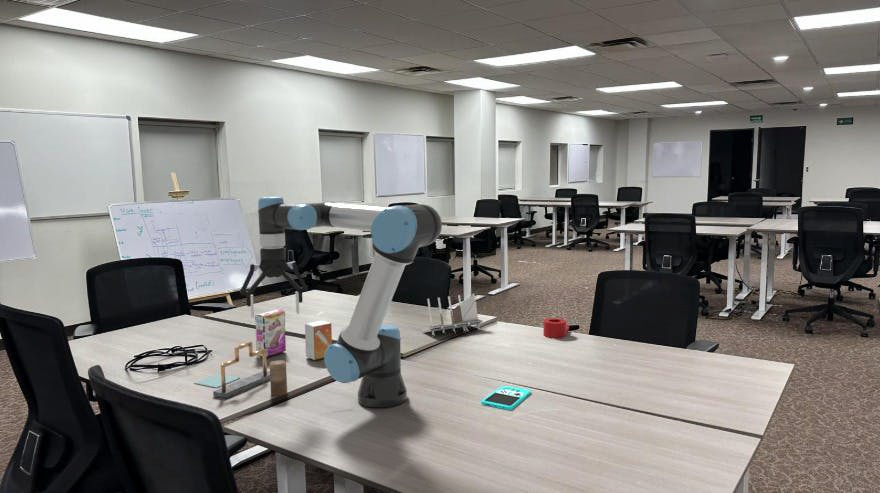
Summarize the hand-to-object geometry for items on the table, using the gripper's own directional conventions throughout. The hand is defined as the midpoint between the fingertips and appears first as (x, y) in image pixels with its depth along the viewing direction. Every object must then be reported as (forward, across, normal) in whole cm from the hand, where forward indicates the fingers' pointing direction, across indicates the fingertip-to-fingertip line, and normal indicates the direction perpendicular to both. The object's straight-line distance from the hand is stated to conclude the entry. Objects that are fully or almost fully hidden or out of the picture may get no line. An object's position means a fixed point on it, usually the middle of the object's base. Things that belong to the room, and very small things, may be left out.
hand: (275, 314), depth 184 cm
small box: (+26, -17, -35) cm, 47 cm away
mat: (+26, +19, -19) cm, 37 cm away
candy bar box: (+26, 0, -45) cm, 52 cm away
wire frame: (+26, +10, -10) cm, 29 cm away
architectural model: (+26, -78, -48) cm, 95 cm away
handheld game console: (+26, -66, +28) cm, 77 cm away
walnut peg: (+26, 0, 0) cm, 26 cm away
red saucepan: (+26, -119, -32) cm, 126 cm away
